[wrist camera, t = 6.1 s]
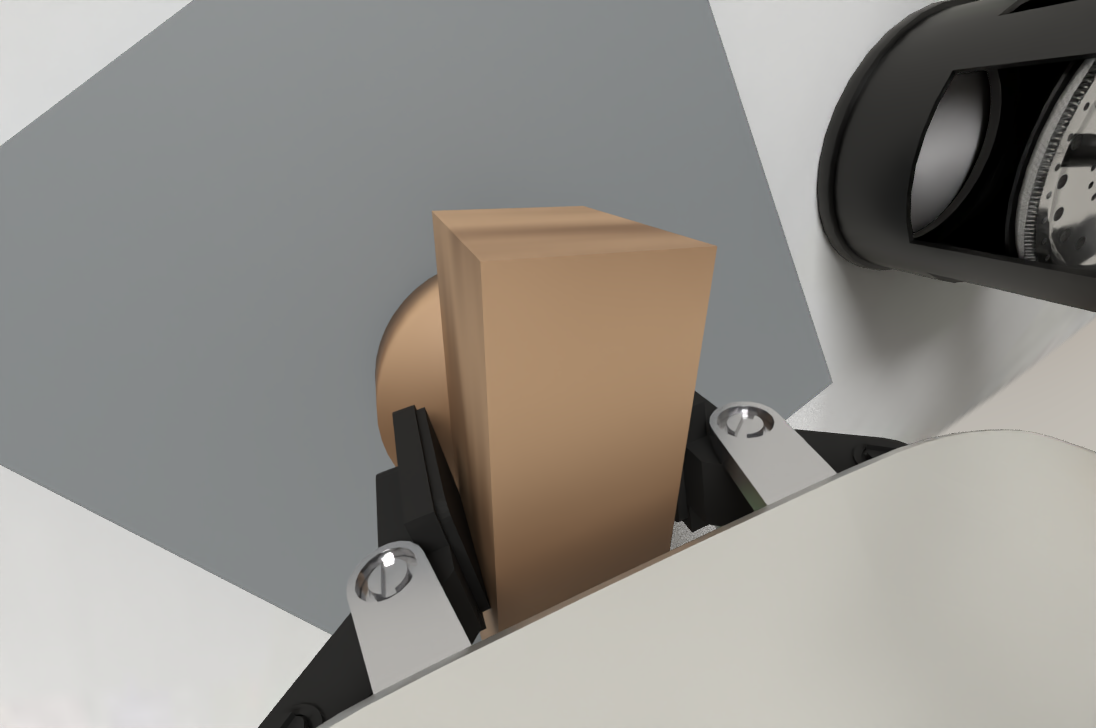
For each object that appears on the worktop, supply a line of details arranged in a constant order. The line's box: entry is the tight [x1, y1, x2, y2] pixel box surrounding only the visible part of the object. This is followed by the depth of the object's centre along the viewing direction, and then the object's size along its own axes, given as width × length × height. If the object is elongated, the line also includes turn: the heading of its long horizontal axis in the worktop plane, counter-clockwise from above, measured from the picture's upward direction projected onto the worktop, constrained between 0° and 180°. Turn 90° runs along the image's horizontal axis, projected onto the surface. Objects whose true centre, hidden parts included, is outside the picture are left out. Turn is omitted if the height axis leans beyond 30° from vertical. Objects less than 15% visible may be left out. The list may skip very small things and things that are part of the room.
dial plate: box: [0, 0, 833, 645], centre depth 15 cm, size 21×21×2 cm
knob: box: [375, 206, 717, 640], centre depth 13 cm, size 15×7×7 cm, turn 0°
